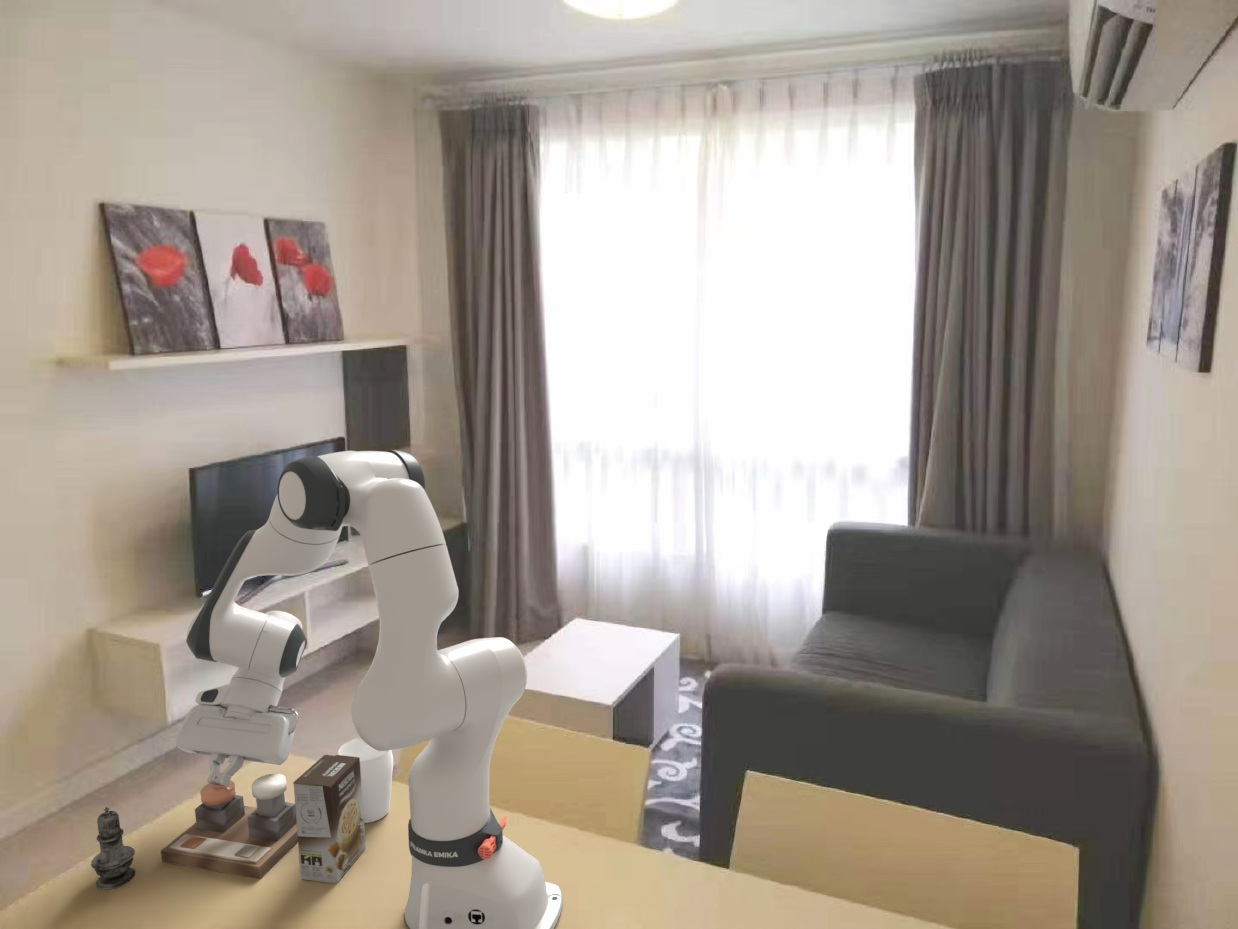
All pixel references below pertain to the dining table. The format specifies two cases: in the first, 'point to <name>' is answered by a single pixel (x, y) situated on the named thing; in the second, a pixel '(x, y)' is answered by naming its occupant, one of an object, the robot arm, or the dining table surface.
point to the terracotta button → (217, 795)
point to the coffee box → (329, 818)
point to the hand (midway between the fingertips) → (216, 784)
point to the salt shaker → (112, 853)
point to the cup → (372, 777)
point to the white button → (269, 794)
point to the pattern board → (234, 840)
